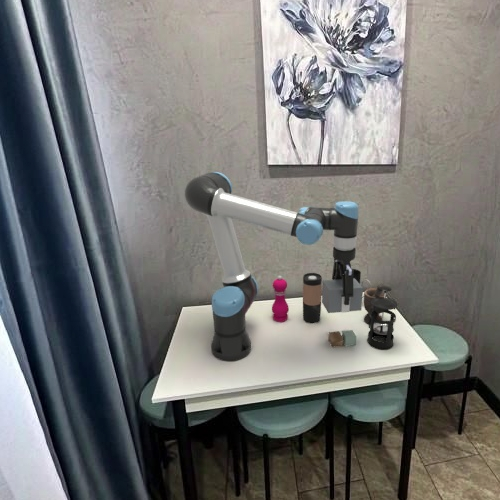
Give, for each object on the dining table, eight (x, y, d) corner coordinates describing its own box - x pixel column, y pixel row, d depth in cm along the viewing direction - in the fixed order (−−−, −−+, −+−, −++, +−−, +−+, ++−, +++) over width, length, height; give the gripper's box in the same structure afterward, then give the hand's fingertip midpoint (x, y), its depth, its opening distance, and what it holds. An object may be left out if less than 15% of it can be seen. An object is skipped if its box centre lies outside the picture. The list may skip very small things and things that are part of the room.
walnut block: (331, 347, 133) (332, 338, 131) (328, 341, 137) (328, 332, 135) (342, 346, 133) (342, 337, 132) (338, 340, 137) (339, 331, 136)
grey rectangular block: (328, 313, 125) (329, 290, 122) (321, 302, 133) (322, 280, 130) (361, 310, 126) (363, 287, 123) (353, 299, 134) (354, 278, 131)
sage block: (345, 345, 133) (345, 336, 132) (341, 339, 137) (342, 330, 136) (355, 345, 133) (356, 335, 132) (351, 339, 137) (352, 330, 136)
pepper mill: (289, 314, 156) (289, 273, 149) (287, 323, 150) (287, 280, 143) (273, 313, 158) (272, 271, 151) (270, 321, 151) (269, 278, 145)
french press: (400, 347, 131) (407, 291, 123) (378, 353, 128) (383, 296, 120) (380, 331, 141) (385, 278, 133) (359, 336, 139) (363, 282, 131)
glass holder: (348, 295, 171) (349, 266, 166) (374, 305, 160) (377, 275, 155) (336, 301, 166) (338, 272, 160) (363, 312, 155) (365, 281, 150)
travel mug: (319, 314, 155) (321, 272, 148) (321, 324, 148) (322, 280, 141) (302, 314, 156) (302, 272, 149) (302, 323, 149) (303, 280, 142)
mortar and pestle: (393, 327, 143) (398, 282, 136) (374, 332, 141) (378, 286, 134) (375, 314, 153) (379, 271, 147) (358, 318, 151) (361, 275, 144)
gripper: (367, 257, 112) (362, 319, 120) (344, 237, 132) (341, 292, 140) (344, 258, 112) (340, 321, 120) (324, 238, 131) (322, 293, 139)
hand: (340, 305), depth 130 cm, fingers closed on grey rectangular block, 8 cm apart
